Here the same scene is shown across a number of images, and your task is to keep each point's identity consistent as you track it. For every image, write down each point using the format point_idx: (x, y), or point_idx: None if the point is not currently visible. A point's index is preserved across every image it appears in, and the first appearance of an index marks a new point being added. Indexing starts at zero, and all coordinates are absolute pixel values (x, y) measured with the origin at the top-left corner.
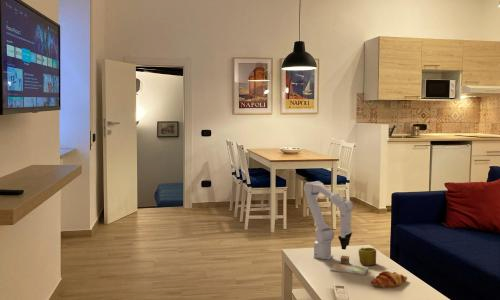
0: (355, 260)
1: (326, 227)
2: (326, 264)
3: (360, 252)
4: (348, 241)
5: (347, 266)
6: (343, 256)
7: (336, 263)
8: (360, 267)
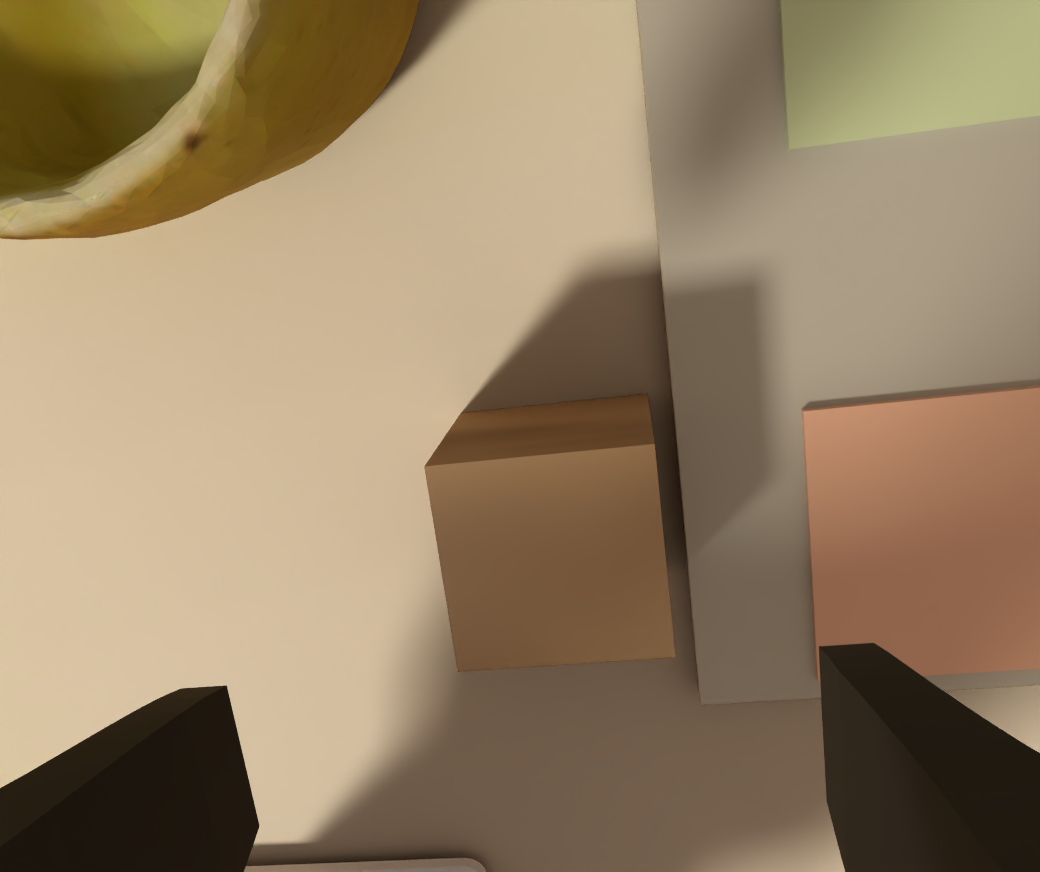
0: (172, 332)
1: None
2: (806, 838)
3: (282, 92)
4: (112, 805)
5: (811, 360)
6: (521, 612)
7: (711, 663)
8: (734, 2)
